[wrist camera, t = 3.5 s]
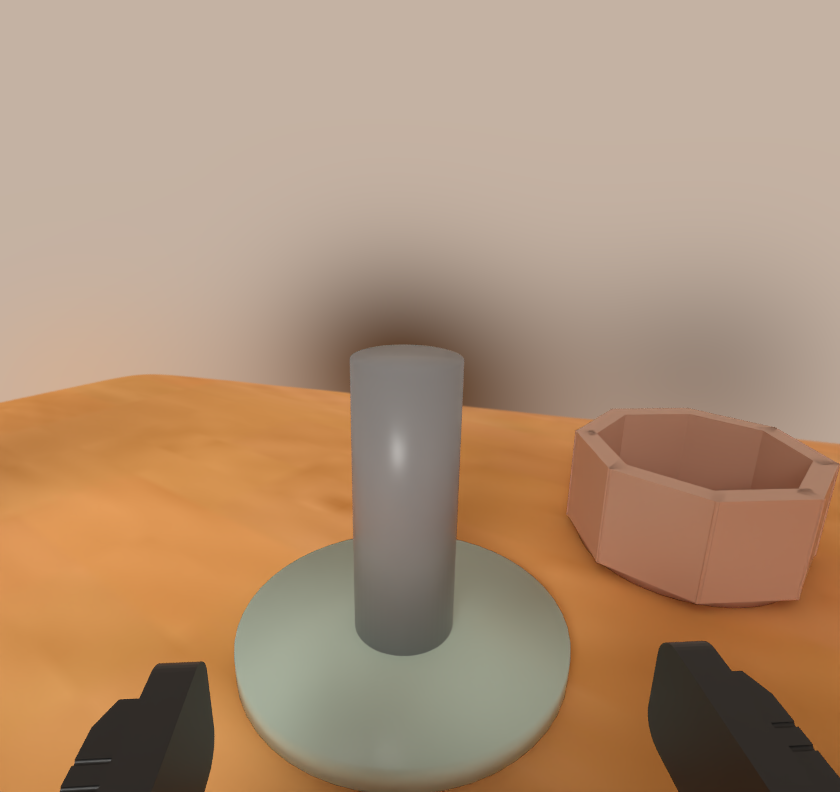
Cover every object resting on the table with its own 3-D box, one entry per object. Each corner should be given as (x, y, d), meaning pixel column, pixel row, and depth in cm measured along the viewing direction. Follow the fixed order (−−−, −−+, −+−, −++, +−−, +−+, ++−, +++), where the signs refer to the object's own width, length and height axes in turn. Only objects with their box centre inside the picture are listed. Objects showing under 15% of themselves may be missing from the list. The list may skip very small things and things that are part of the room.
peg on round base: (195, 810, 16) (142, 431, 13) (266, 556, 27) (248, 320, 24) (624, 780, 17) (685, 423, 14) (521, 548, 28) (540, 321, 25)
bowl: (622, 615, 24) (639, 504, 22) (548, 492, 33) (556, 409, 32) (866, 605, 24) (899, 497, 23) (723, 488, 34) (740, 407, 33)
